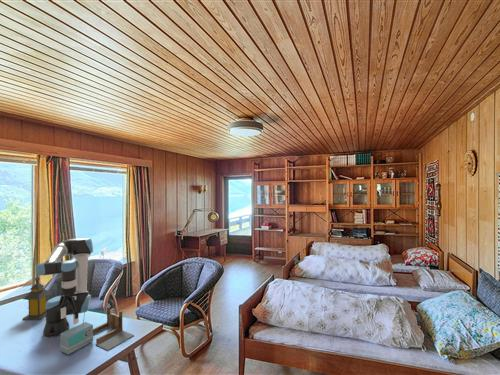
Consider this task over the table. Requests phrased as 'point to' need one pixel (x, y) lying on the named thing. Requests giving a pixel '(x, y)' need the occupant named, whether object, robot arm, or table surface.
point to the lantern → (37, 302)
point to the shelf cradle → (110, 325)
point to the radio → (76, 337)
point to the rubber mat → (114, 340)
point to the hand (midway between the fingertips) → (69, 320)
